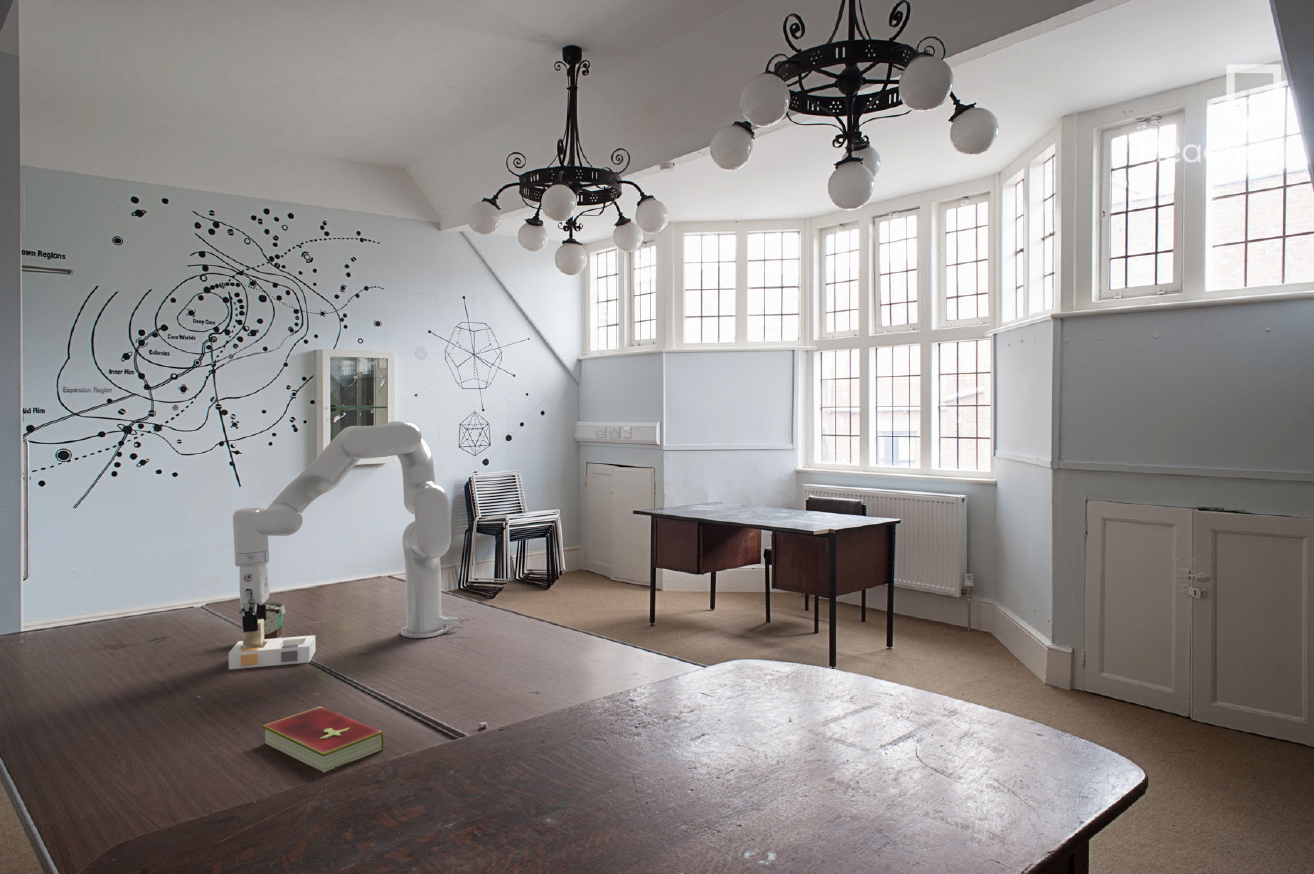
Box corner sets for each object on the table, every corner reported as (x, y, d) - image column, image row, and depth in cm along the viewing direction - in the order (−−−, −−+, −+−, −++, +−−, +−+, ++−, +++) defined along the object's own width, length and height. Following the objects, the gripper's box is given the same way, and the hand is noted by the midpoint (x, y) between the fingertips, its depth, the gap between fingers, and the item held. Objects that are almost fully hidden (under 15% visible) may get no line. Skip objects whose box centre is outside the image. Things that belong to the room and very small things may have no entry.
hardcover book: (322, 724, 155) (322, 704, 155) (385, 751, 143) (384, 729, 143) (262, 746, 146) (261, 723, 146) (323, 776, 133) (322, 752, 133)
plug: (264, 658, 197) (263, 618, 196) (261, 662, 193) (260, 623, 193) (247, 659, 196) (246, 620, 195) (243, 664, 192) (242, 624, 191)
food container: (295, 637, 215) (294, 601, 215) (282, 643, 209) (281, 606, 208) (253, 636, 216) (252, 600, 216) (239, 642, 210) (238, 606, 210)
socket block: (315, 650, 203) (315, 634, 203) (309, 662, 193) (308, 645, 193) (239, 656, 198) (238, 640, 198) (228, 669, 188) (228, 652, 188)
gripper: (261, 563, 186) (264, 634, 187) (275, 550, 203) (278, 615, 204) (226, 565, 184) (229, 637, 185) (243, 552, 201) (246, 618, 202)
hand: (255, 625), depth 194 cm, fingers open, 9 cm apart
